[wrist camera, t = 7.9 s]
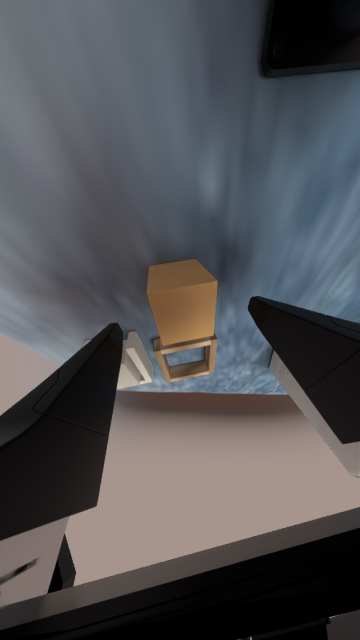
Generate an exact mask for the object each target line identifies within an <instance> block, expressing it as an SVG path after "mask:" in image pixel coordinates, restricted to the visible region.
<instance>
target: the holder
mask: <svg viewBox="0 0 360 640" xmlns="http://www.w3.org/2000/svg"><path fill="white" fill-rule="evenodd" d="M202 346H205V360H203V361H198V362H193V363H188V364H184V365H179V366H174V367H169V364H168V361H167V358H166V355H165V354H167V353H172V352H177V351H182V350H187V349H192V348H197V347H202ZM216 347H217V337H216V336H215V334H213V336H209V337H204V338H199V339H194V340H189V341H184V342H179V343H174V344H169V345H164V346H163V344H162V341H161V338H157V339H154V354H155V356H156V359H157V361H158V364H159V366H160V368H161V371H162V373H163V376H164V378H165V380H166V383H168V382H173V381H177V380H182V379H187V378H191V377H196V376H201V375H205V374H210V373H214V364H215V355H216Z"/></svg>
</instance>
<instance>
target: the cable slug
mask: <svg viewBox="0 0 360 640" xmlns="http://www.w3.org/2000/svg"><path fill="white" fill-rule="evenodd" d="M127 340H128V339H127ZM127 340H123V353H122V361H121V367H120V372H119V378H118V384H117V389H121V388H126V387H131V386H136V385H140V374H141V373H140V371H139V370H138V368H137V367H136V365H135V363H134V362H133V360H132V359H131V357H130V356H129V354H128V353H127V351H126V344H127Z"/></svg>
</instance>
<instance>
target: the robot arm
mask: <svg viewBox="0 0 360 640" xmlns="http://www.w3.org/2000/svg"><path fill="white" fill-rule="evenodd" d="M274 43H276V44H277V47H278V55H277V58H274V55H273V45H274ZM261 67H262V72H263V74H264V76H266V77H277V76H287V75H296V74H306V73H316V72H326V71H336V70H345V69H355V68H360V0H270V1H269V8H268V15H267V22H266V29H265V36H264V43H263V50H262V58H261ZM248 311H249V313H250V314H251V316H252V318H253V320H254V322H255V323H256V325H257V327H258V328H259V330H260V331H261V333H262V334H263V335H264V337H265V338H266V340H267V341H268V342H269V344H270V345H271V347H272V348H273V349H274V351H275V352H276V353H277V355H278V356H279V358H280V359H281V360H282V362H283V363H284V365H285V366H286V367H287V369H288V370H289V372H290V373H291V374H292V376H293V377H294V378H295V380H296V381H297V383H298V384H299V385H300V387H301V388H302V390H303V391H304V392H305V394H306V395H307V397H308V398H309V399H310V401H311V402H312V404H313V405H314V406H315V408H316V409H317V411H318V412H319V413H320V415H321V416H322V417H323V419H324V420H325V422H326V423H327V424H328V426H329V427H330V429H331V430H332V431H333V433H334V434H335V436H336V437H337V438H338V440H339V441H340V442H341V443H342V444H349V443H355V442H360V324H359V323H355V322H351V321H347V320H343V319H340V318H336V317H332V316H329V315H325V314H321V313H318V312H314V311H310V310H307V309H303V308H300V307H296V306H292V305H289V304H285V303H281V302H278V301H274V300H271V299H267V298H263V297H260V296H255V297H251V298H250V301H249V305H248ZM122 353H123V331H122V329H121V328H120V326H119V324H118V323H111V324H109V325H108V326H107V327H106V328H104V329H103V330H102V331H101V332H100V333H99V334H98V335H96V336H95V337H94V338H93V339H92V340H91V341H90V342H88V343H87V344H86V345H85V346H84V347H83V348H81V349H80V350H79V351H78V352H77V353H76V354H75V355H73V356H72V357H71V358H70V359H69V360H68V361H66V362H65V363H64V364H63V365H62V366H61V367H60V368H58V369H57V370H56V371H55V372H54V373H53V374H51V375H50V376H49V377H48V378H47V379H46V380H44V381H43V382H42V383H41V384H40V385H38V386H37V387H36V388H35V389H33V390H32V391H31V392H30V393H28V394H27V395H26V396H25V397H23V398H22V399H21V400H20V401H18V402H17V403H16V404H15V405H13V406H12V407H11V408H9V409H8V410H7V411H6V412H4V413H3V414H2V415H1V416H0V640H250V637H251V636H252V640H360V507H358V508H355V509H351V510H348V511H344V512H341V513H337V514H333V515H330V516H326V517H322V518H319V519H315V520H312V521H308V522H304V523H301V524H297V525H294V526H290V527H286V528H283V529H279V530H276V531H272V532H268V533H265V534H261V535H258V536H254V537H250V538H247V539H243V540H240V541H236V542H233V543H229V544H225V545H222V546H218V547H214V548H211V549H207V550H204V551H200V552H196V553H193V554H189V555H186V556H182V557H178V558H175V559H171V560H168V561H164V562H160V563H157V564H153V565H150V566H146V567H142V568H139V569H135V570H132V571H128V572H125V573H121V574H117V575H114V576H110V577H106V578H103V579H99V580H95V581H92V582H88V583H85V584H81V585H78V586H74V587H73V584H74V580H75V575H76V571H75V567H74V564H73V560H72V557H71V553H70V550H69V547H68V543H67V540H66V536H65V529H66V525H67V522H68V518H69V516H71V515H74V514H77V513H80V512H82V511H85V510H88V509H91V508H93V507H96V506H97V501H98V496H99V491H100V484H101V479H102V473H103V467H104V461H105V455H106V450H107V443H108V438H109V431H110V425H111V420H112V414H113V408H114V401H115V396H116V390H117V384H118V378H119V372H120V367H121V361H122ZM340 614H341V615H340ZM336 615H338V616H336ZM332 616H335V617H332ZM329 617H332V618H329Z"/></svg>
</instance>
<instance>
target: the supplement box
mask: <svg viewBox="0 0 360 640" xmlns="http://www.w3.org/2000/svg"><path fill="white" fill-rule="evenodd" d="M269 369H270V370H271V372H272V373H273V374H274V376H275V377H276V378H277V380H278V381H279V382H280V383H281V385H282V386H283V387H284V389H285V390H286V391H287V393H288V394H289V395H290V396H291V398H292V399H293V400H294V402H295V403H296V404H297V405H298V407H299V408H300V409H301V411H302V412H303V413H304V414H305V416H306V417H307V419H308V420H309V421H310V422H311V424H312V425H313V426H314V428H315V429H316V430H317V432H318V433H319V434H320V435H321V437H322V438H323V439H324V441H325V442H326V443H327V445H328V446H329V447H330V449H331V450H332V451H333V452H334V454H335V455H336V456H337V458H338V459H339V460H340V462H341V463H342V464H343V466H344V467H345V468H346V470H347V471H348V472H349V473H350V475H351V476H354V477H356V478H360V442H355V443H349V444H342V443H341V442H340V441H339V440H338V438H337V437H336V436H335V434H334V433H333V431H332V430H331V429H330V427H329V426H328V424H327V423H326V422H325V420H324V419H323V417H322V416H321V415H320V413H319V412H318V411H317V409H316V408H315V406H314V405H313V404H312V402H311V401H310V399H309V398H308V397H307V395H306V394H305V392H304V391H303V390H302V388H301V387H300V385H299V384H298V383H297V381H296V380H295V378H294V377H293V376H292V374H291V373H290V372H289V370H288V369H287V367H286V366H285V365H284V363H283V362H282V360H281V359H280V358H279V356H278V355H277V353H276V352H275V351H274V352H273V356H272V359H271V363H270V367H269Z"/></svg>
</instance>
